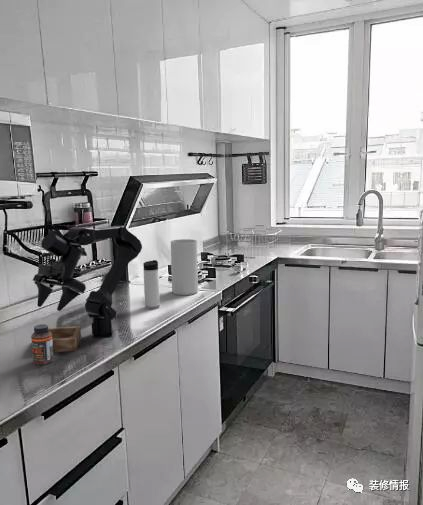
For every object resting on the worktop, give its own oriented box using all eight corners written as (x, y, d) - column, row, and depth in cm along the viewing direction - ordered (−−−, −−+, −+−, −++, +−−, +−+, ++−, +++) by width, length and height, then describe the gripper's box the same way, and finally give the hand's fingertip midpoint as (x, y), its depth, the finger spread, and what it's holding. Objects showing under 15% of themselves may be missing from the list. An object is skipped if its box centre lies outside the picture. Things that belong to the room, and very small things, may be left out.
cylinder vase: (175, 289, 230) (173, 239, 226) (200, 289, 228) (199, 239, 224) (169, 295, 218) (167, 242, 214) (195, 295, 216) (194, 243, 212)
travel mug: (163, 306, 199) (161, 260, 196) (153, 310, 194) (151, 263, 191) (151, 304, 203) (149, 259, 199) (142, 308, 197) (140, 262, 194)
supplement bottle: (29, 365, 138) (26, 328, 136) (39, 357, 144) (36, 322, 142) (47, 366, 137) (44, 329, 135) (57, 358, 143) (54, 323, 141)
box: (81, 337, 162) (80, 326, 161) (75, 350, 149) (74, 338, 149) (42, 339, 160) (41, 328, 159) (33, 353, 147) (32, 341, 147)
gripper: (30, 250, 147) (9, 295, 142) (70, 254, 137) (49, 303, 132) (55, 264, 156) (36, 307, 151) (94, 269, 146) (76, 316, 141)
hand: (48, 308), depth 143 cm, fingers open, 9 cm apart
